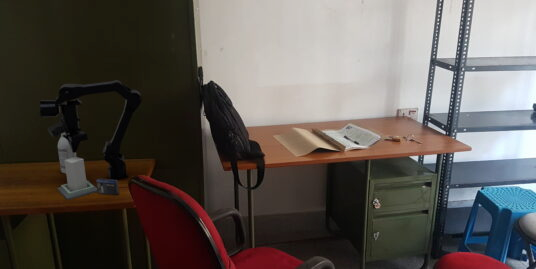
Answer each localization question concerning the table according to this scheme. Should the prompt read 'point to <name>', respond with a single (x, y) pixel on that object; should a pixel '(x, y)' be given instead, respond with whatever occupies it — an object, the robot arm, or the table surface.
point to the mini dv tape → (107, 186)
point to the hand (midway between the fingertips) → (74, 152)
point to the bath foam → (64, 152)
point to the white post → (75, 173)
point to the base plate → (74, 194)
